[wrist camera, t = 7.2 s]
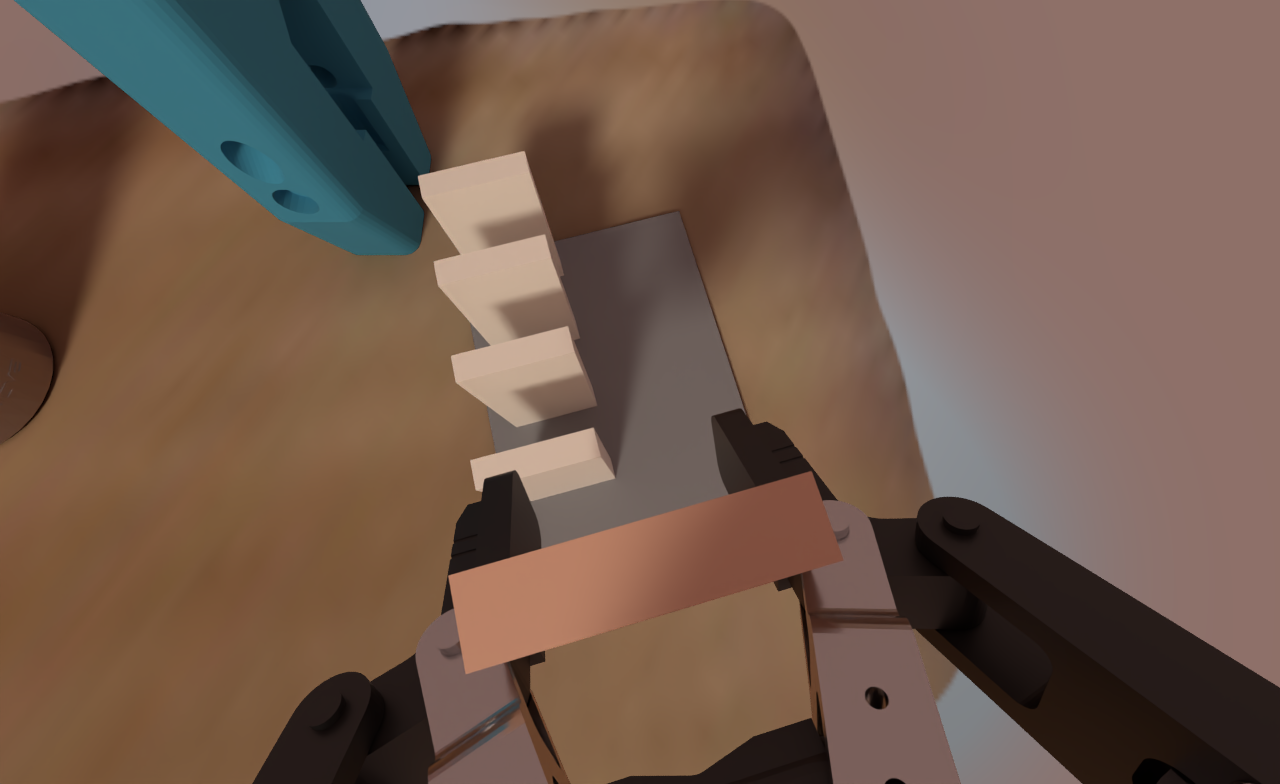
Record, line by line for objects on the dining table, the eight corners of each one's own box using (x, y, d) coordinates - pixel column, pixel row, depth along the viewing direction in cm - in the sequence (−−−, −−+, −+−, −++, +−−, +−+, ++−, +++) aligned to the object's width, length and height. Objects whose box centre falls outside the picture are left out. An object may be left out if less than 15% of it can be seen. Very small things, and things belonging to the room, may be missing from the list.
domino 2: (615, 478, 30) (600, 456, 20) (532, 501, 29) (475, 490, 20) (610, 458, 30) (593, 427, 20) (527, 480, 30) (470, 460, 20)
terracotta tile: (723, 536, 16) (844, 560, 7) (572, 580, 16) (465, 675, 6) (711, 499, 17) (811, 470, 7) (563, 542, 16) (447, 575, 7)
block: (366, 126, 37) (50, -320, 17) (435, 126, 36) (196, -323, 17) (340, 278, 34) (-77, -55, 14) (416, 278, 33) (99, -57, 14)
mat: (791, 558, 29) (793, 558, 28) (533, 632, 28) (531, 634, 28) (678, 214, 34) (678, 210, 34) (460, 267, 34) (458, 264, 33)
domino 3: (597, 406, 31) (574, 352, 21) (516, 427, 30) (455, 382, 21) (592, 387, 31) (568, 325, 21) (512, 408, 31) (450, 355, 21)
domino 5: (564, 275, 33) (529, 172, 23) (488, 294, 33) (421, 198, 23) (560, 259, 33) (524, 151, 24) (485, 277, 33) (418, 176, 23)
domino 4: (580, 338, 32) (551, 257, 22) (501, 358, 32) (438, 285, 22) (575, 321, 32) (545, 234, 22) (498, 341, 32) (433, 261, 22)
